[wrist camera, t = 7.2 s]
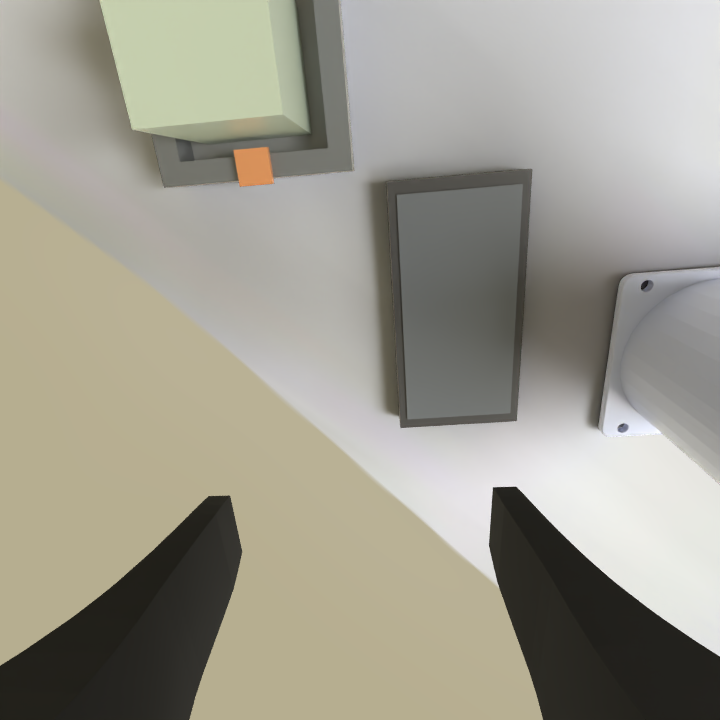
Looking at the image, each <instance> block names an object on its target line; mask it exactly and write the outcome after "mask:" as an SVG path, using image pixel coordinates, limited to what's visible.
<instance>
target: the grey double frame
mask: <svg viewBox="0 0 720 720" xmlns="http://www.w3.org/2000/svg"><path fill="white" fill-rule="evenodd" d="M295 2H296V4H297V7H298V16H299V25H300V34H301V43H302V51H303V60H304V69H305V78H306V87H307V96H308V104H309V113H310V122H311V131H312V135H303V136H293V137H283V138H273V139H262V140H252V141H242V142H232V143H221V144H211V145H209V144H204V143H198V142H193V141H188V140H183V139H178V138H172V137H167V136H162V135H157V134H152V133H151V135H152V139H153V143H154V147H155V152H156V156H157V160H158V164H159V169H160V173H161V177H162V181H163V185H164V188H166V187H183V186H195V185H206V184H217V183H228V182H239V185H240V187H241V186H253V185H264V184H274V179H273V178H283V177H294V176H305V175H316V174H327V173H338V172H349V171H354V160H353V148H352V135H351V123H350V110H349V98H348V86H347V73H346V61H345V49H344V36H343V24H342V12H341V0H295Z"/></svg>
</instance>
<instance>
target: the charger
mask: <svg viewBox="0 0 720 720" xmlns="http://www.w3.org/2000/svg"><path fill="white" fill-rule="evenodd" d="M99 1H100V5H101V9H102V13H103V17H104V21H105V25H106V29H107V33H108V36H109V40H110V44H111V48H112V52H113V56H114V60H115V64H116V68H117V72H118V76H119V80H120V84H121V88H122V92H123V96H124V100H125V104H126V108H127V112H128V116H129V120H130V124H131V128H132V130H136V131H141V132H147V133H152V134H157V135H162V136H167V137H172V138H178V139H183V140H188V141H193V142H198V143H204V144H209V145H211V144H221V143H232V142H242V141H252V140H262V139H273V138H283V137H293V136H303V135H312V131H311V122H310V113H309V104H308V96H307V87H306V78H305V69H304V60H303V51H302V43H301V34H300V25H299V16H298V7H297V4H296V2H295V0H99Z"/></svg>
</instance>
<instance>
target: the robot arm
mask: <svg viewBox="0 0 720 720" xmlns="http://www.w3.org/2000/svg"><path fill="white" fill-rule="evenodd" d="M646 280H648V285H647V287H646V288H645V289H642V290H641V284H642V283H643V282H644V281H646ZM623 423H624V425H623V426H622V427H621V428H618V426H619V425H620V424H623ZM598 426H599V430H600V431H601V433H602V434H603V435H605V436H607V437H618V436H636V435H653V434H663V435H664V436H665V437H667V438H668V439H669V440H670V441H671V442H672V443H673V444H674V445H676V446H677V447H678V448H679V449H680V450H681V451H682V452H683V453H685V454H686V455H687V456H688V457H689V458H690V459H691V460H693V461H694V462H695V463H696V464H697V465H698V466H699V467H700V468H702V469H703V470H704V471H705V472H706V473H707V474H708V475H709V476H711V477H712V478H713V479H714V480H715V481H716V482H717V483H718V484H720V267H711V268H698V269H684V270H671V271H658V272H645V273H632V274H628V275H626V276H625V277H623V278H622V280H621V281H620V283H619V287H618V294H617V301H616V307H615V314H614V321H613V328H612V335H611V342H610V349H609V356H608V363H607V370H606V377H605V384H604V391H603V398H602V404H601V411H600V418H599V425H598ZM489 547H490V552H491V556H492V561H493V565H494V569H495V573H496V578H497V582H498V585H499V588H500V591H501V594H502V597H503V599H504V602H505V605H506V608H507V610H508V614H509V616H510V619H511V622H512V625H513V627H514V630H515V633H516V636H517V639H518V641H519V644H520V647H521V650H522V652H523V655H524V658H525V661H526V664H527V666H528V669H529V672H530V675H531V678H532V681H533V685H534V688H535V691H536V694H537V698H538V701H539V706H540V709H541V713H542V717H543V720H720V656H718V655H716V654H715V653H713V652H712V651H710V650H709V649H707V648H705V647H704V646H702V645H701V644H699V643H698V642H696V641H695V640H693V639H692V638H690V637H689V636H687V635H686V634H684V633H683V632H681V631H680V630H678V629H677V628H675V627H674V626H673V625H671V624H670V623H668V622H667V621H665V620H664V619H662V618H661V617H660V616H658V615H657V614H655V613H654V612H653V611H651V610H650V609H649V608H647V607H646V606H645V605H643V604H642V603H641V602H639V601H638V600H637V599H636V598H634V597H633V596H632V595H630V594H629V593H628V592H626V591H625V590H624V589H623V588H621V587H620V586H619V585H618V584H616V583H615V582H614V581H613V580H611V579H610V578H609V577H608V576H607V575H606V574H604V573H603V572H602V571H601V570H600V569H599V568H598V567H596V566H595V565H594V564H593V563H592V562H591V561H590V560H589V559H587V558H586V557H585V556H584V555H583V554H582V553H581V552H580V551H579V550H578V549H577V548H576V547H575V546H574V545H573V544H572V543H571V542H570V541H569V540H567V539H566V538H565V537H564V536H563V535H562V534H561V533H560V532H559V531H558V530H557V529H556V528H555V527H554V526H553V525H552V524H551V523H550V522H549V521H548V520H547V519H546V517H545V516H544V515H543V514H542V513H541V512H540V511H539V510H538V509H537V508H536V507H535V506H534V505H533V504H532V503H531V502H530V501H529V500H528V498H527V497H526V496H525V495H524V494H523V493H522V492H521V491H520V490H519V489H518V488H517V487H493V496H492V510H491V525H490V539H489ZM241 555H242V549H241V544H240V539H239V535H238V531H237V526H236V521H235V516H234V512H233V507H232V503H231V498H230V496H208V498H206V499H205V500H204V501H203V502H202V503H201V504H200V505H199V506H198V507H197V508H196V509H195V510H194V511H193V512H192V513H191V514H190V515H189V516H188V517H187V518H186V519H185V520H184V521H183V522H182V523H181V524H180V525H179V526H178V527H177V528H176V529H175V530H174V531H173V532H172V533H171V534H170V535H169V536H167V537H166V538H165V539H164V540H163V541H162V542H161V543H160V544H159V545H158V546H157V547H156V548H155V549H154V550H153V551H152V552H151V553H150V554H148V555H147V556H146V557H145V558H144V559H143V560H142V561H141V562H139V563H138V564H137V565H136V566H135V567H134V568H133V569H132V570H130V571H129V572H128V573H127V574H126V575H125V576H124V577H123V578H121V579H120V580H119V581H118V582H117V583H116V584H115V585H113V586H112V587H111V588H110V589H109V590H107V591H106V592H105V593H103V594H102V595H101V596H100V597H98V598H97V599H96V600H95V601H93V602H92V603H91V604H89V605H88V606H87V607H85V608H84V609H83V610H82V611H80V612H79V613H78V614H76V615H75V616H74V617H72V618H71V619H70V620H68V621H67V622H65V623H64V624H62V625H61V626H59V627H58V628H56V629H55V630H54V631H52V632H51V633H49V634H48V635H46V636H45V637H43V638H42V639H41V640H39V641H38V642H36V643H35V644H33V645H32V646H30V647H29V648H27V649H26V650H24V651H23V652H21V653H20V654H18V655H17V656H15V657H13V658H12V659H10V660H9V661H7V662H5V663H4V664H2V665H1V666H0V720H189V719H190V715H191V711H192V707H193V704H194V700H195V696H196V693H197V690H198V687H199V684H200V681H201V678H202V675H203V672H204V669H205V667H206V664H207V661H208V658H209V655H210V653H211V650H212V647H213V645H214V642H215V639H216V636H217V634H218V631H219V628H220V625H221V623H222V620H223V617H224V614H225V611H226V609H227V606H228V603H229V600H230V598H231V594H232V592H233V589H234V585H235V581H236V577H237V572H238V568H239V564H240V559H241Z"/></svg>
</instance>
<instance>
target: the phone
mask: <svg viewBox="0 0 720 720" xmlns="http://www.w3.org/2000/svg"><path fill="white" fill-rule="evenodd" d="M531 181H532V169H521V170H510V171H499V172H488V173H477V174H465V175H454V176H443V177H432V178H421V179H409V180H398V181H387V182H386V188H387V206H388V224H389V242H390V260H391V277H392V295H393V313H394V331H395V349H396V367H397V385H398V402H399V419H400V427H401V428H407V427H424V426H440V425H457V424H474V423H491V422H508V421H517V408H518V392H519V376H520V360H521V343H522V327H523V311H524V295H525V278H526V262H527V246H528V230H529V214H530V197H531Z"/></svg>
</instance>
